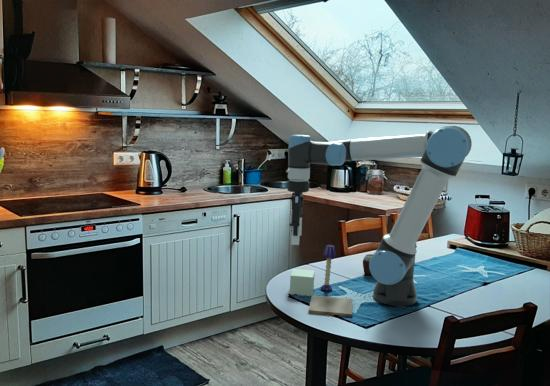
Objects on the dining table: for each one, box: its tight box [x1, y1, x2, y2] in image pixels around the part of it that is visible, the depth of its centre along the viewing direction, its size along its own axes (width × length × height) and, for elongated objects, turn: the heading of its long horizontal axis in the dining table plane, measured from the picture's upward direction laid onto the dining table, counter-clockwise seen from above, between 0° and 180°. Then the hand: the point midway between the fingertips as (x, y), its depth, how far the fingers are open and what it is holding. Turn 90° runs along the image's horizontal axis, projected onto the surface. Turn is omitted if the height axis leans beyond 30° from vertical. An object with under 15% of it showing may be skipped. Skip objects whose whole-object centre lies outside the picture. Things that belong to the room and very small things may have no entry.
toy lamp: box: [320, 244, 337, 292], centre depth 198 cm, size 5×5×17 cm
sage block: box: [289, 268, 316, 297], centre depth 196 cm, size 8×8×7 cm
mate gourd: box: [362, 253, 375, 279], centre depth 218 cm, size 8×8×15 cm
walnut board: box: [308, 294, 353, 318], centre depth 183 cm, size 14×14×1 cm
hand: (296, 239), depth 191 cm, fingers open, 13 cm apart
